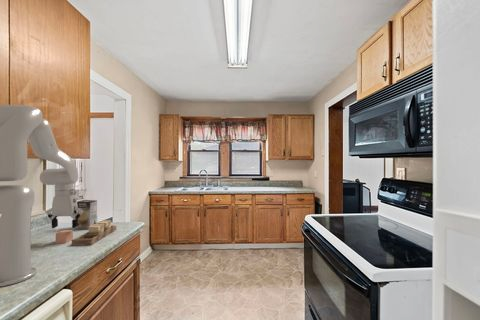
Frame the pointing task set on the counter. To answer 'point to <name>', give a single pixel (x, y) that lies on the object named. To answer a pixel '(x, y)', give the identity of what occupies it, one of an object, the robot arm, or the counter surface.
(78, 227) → the coffee box
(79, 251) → the counter surface
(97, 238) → the walnut tray
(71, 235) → the brick cube
